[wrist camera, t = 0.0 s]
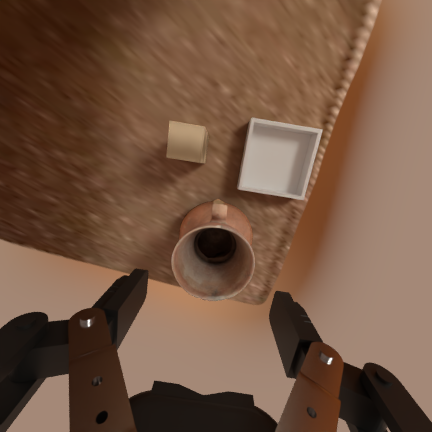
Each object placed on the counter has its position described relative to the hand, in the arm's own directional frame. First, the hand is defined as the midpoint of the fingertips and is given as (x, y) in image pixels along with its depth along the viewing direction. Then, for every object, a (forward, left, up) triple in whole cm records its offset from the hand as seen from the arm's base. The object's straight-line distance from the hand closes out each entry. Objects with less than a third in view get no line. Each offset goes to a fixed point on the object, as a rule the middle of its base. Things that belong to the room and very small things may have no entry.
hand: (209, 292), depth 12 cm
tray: (-10, +9, -29) cm, 32 cm away
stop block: (-10, -6, -29) cm, 32 cm away
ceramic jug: (+7, +1, -30) cm, 30 cm away
